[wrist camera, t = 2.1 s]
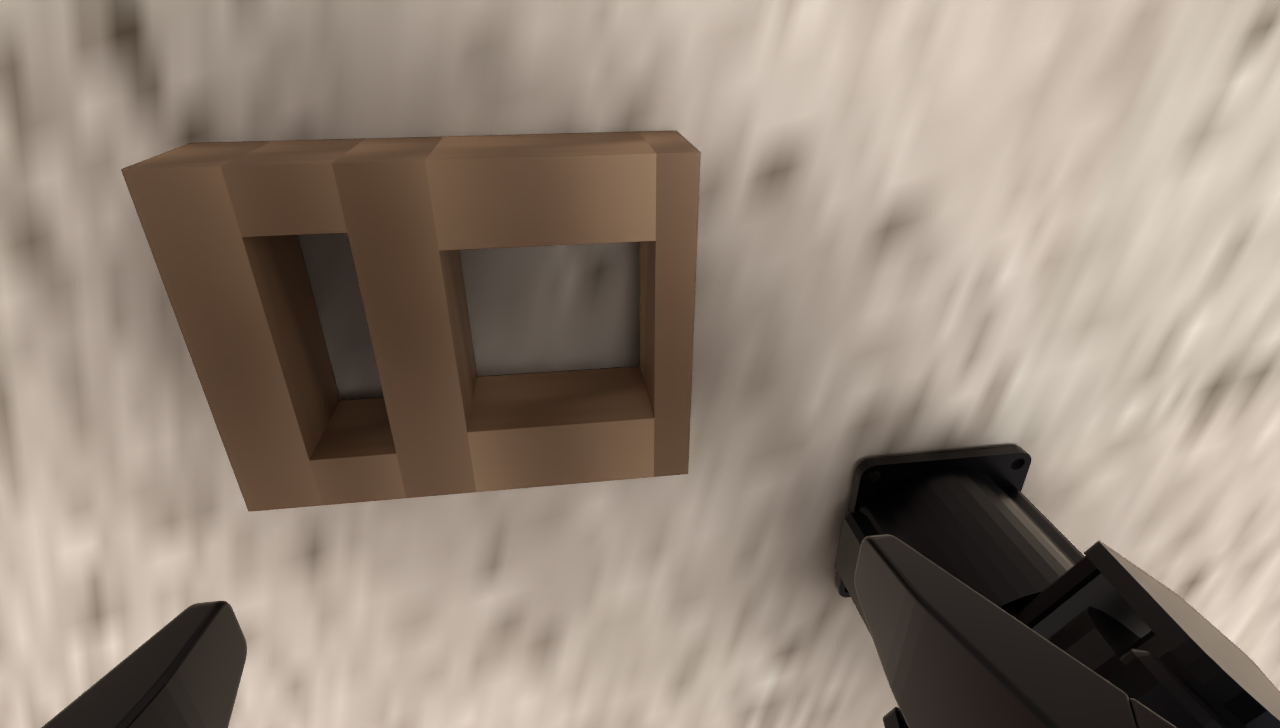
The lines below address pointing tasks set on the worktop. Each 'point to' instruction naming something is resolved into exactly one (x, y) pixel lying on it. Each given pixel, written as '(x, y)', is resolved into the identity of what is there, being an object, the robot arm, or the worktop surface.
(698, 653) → the worktop surface
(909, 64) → the worktop surface
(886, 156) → the worktop surface
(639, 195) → the brown wooden slotted frame
